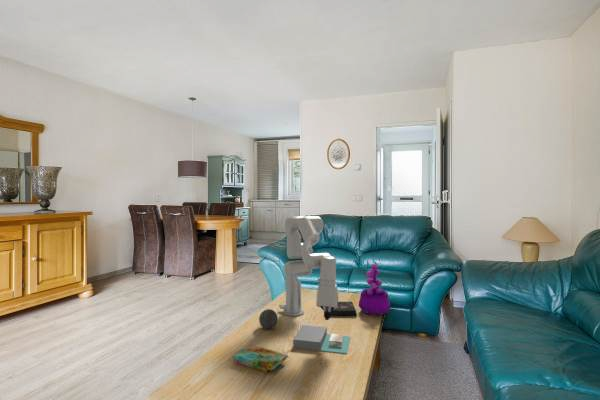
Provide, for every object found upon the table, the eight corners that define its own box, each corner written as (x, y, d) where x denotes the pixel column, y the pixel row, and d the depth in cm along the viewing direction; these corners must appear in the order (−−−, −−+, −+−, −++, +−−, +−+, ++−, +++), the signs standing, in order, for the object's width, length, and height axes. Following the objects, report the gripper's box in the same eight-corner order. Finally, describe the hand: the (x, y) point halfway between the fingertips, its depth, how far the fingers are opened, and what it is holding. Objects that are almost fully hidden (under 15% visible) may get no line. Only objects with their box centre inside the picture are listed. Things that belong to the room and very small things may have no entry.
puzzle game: (250, 342, 150) (287, 352, 141) (250, 352, 151) (287, 363, 141) (233, 353, 140) (272, 365, 131) (233, 364, 140) (272, 376, 131)
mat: (320, 351, 152) (320, 350, 152) (326, 334, 169) (326, 334, 169) (346, 354, 149) (346, 353, 149) (350, 337, 166) (350, 336, 166)
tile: (341, 341, 155) (341, 347, 155) (343, 334, 162) (343, 339, 162) (329, 340, 156) (329, 345, 156) (331, 333, 164) (331, 338, 164)
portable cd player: (357, 317, 195) (357, 310, 195) (328, 317, 195) (328, 310, 195) (352, 307, 211) (352, 301, 211) (326, 307, 212) (326, 301, 212)
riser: (293, 347, 155) (293, 339, 155) (302, 332, 172) (302, 324, 172) (320, 351, 152) (320, 342, 152) (326, 334, 169) (326, 327, 169)
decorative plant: (374, 320, 189) (374, 268, 188) (352, 311, 204) (352, 262, 204) (396, 314, 199) (396, 264, 198) (374, 305, 214) (374, 259, 214)
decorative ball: (255, 329, 176) (255, 311, 176) (265, 323, 185) (265, 305, 184) (271, 333, 171) (271, 314, 171) (281, 326, 180) (281, 308, 180)
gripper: (311, 282, 158) (310, 320, 159) (342, 285, 154) (341, 324, 155) (314, 278, 165) (313, 314, 166) (344, 281, 162) (343, 317, 162)
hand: (327, 319), depth 160 cm, fingers closed
